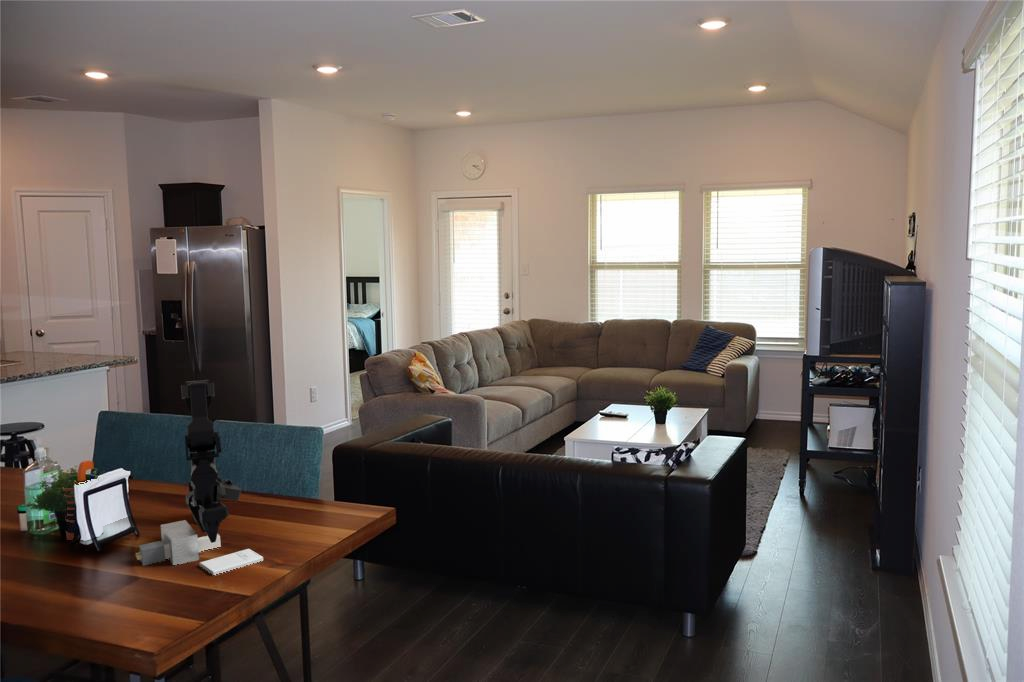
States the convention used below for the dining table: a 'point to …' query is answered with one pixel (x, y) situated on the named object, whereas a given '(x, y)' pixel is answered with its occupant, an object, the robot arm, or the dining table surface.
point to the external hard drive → (231, 561)
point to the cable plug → (161, 552)
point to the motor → (79, 478)
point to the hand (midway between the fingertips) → (208, 536)
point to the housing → (180, 542)
